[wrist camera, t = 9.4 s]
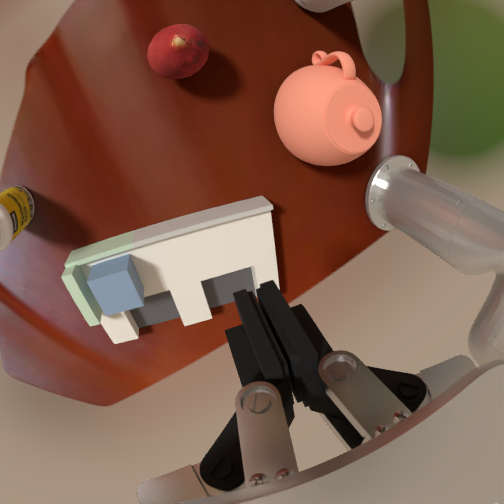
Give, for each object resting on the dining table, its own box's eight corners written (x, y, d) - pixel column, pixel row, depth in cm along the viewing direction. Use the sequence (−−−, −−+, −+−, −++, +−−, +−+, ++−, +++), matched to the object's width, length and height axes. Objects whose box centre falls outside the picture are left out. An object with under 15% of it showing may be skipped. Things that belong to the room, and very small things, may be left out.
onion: (206, 37, 23) (221, 13, 16) (201, 83, 25) (213, 73, 19) (153, 35, 21) (150, 11, 14) (147, 83, 23) (140, 72, 17)
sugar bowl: (271, 166, 32) (312, 190, 24) (259, 54, 25) (299, 33, 17) (353, 156, 35) (406, 175, 26) (348, 58, 28) (404, 52, 19)
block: (129, 253, 29) (126, 269, 26) (144, 288, 32) (143, 305, 29) (92, 265, 28) (86, 281, 25) (108, 298, 31) (105, 316, 28)
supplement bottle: (42, 214, 26) (8, 253, 18) (15, 232, 25) (-20, 272, 17) (24, 176, 23) (-17, 203, 15) (-3, 196, 22) (-44, 228, 14)
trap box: (262, 195, 34) (279, 210, 29) (274, 287, 41) (288, 310, 37) (71, 250, 29) (59, 274, 25) (115, 332, 37) (113, 359, 32)
